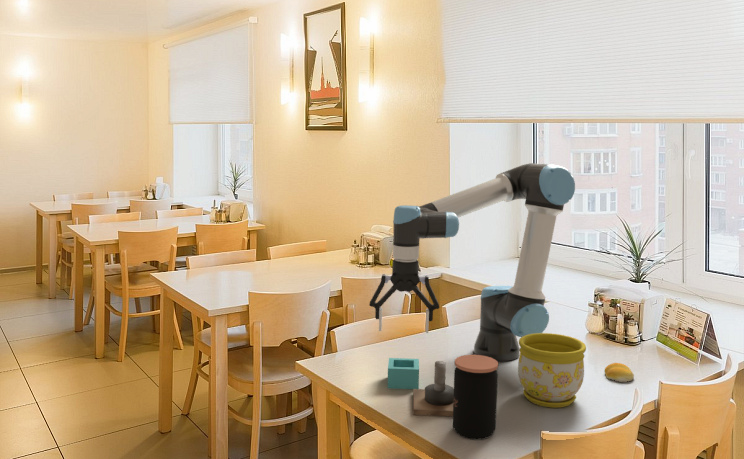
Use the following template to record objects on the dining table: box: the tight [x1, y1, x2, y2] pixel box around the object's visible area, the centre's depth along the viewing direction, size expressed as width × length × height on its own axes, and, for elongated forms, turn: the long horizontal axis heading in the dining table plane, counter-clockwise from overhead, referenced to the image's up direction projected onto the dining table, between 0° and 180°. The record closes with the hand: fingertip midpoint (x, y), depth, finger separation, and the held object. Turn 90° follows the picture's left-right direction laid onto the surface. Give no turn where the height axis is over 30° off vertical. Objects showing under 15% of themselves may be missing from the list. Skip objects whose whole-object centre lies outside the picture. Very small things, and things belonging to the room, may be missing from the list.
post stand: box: [412, 360, 454, 417], centre depth 179 cm, size 14×14×12 cm
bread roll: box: [604, 362, 635, 383], centre depth 202 cm, size 8×9×4 cm
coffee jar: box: [452, 354, 499, 440], centre depth 164 cm, size 11×11×18 cm
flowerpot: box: [517, 332, 587, 409], centre depth 184 cm, size 18×18×16 cm
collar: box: [387, 357, 420, 390], centre depth 195 cm, size 9×9×6 cm
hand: (403, 330), depth 193 cm, fingers open, 13 cm apart
